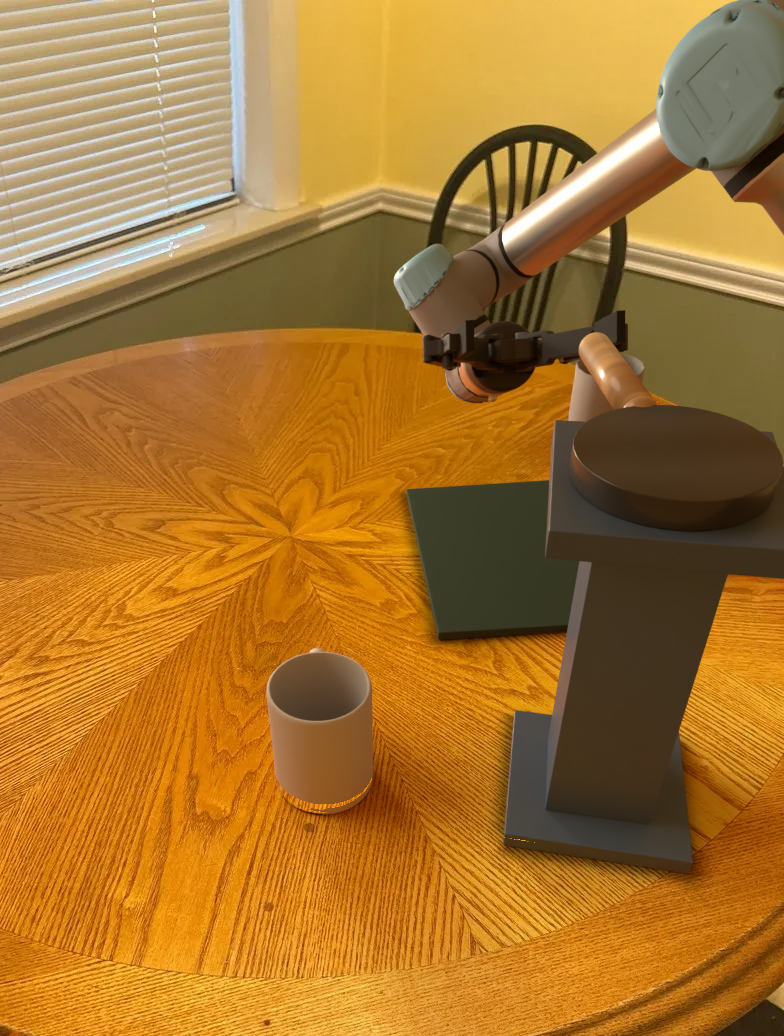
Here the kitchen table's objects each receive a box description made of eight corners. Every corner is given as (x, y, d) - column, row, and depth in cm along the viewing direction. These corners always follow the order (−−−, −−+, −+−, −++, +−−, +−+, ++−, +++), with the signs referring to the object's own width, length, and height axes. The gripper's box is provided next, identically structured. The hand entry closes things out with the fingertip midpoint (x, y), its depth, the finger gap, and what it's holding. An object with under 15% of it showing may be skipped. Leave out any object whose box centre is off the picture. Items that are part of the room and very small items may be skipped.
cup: (618, 456, 116) (631, 384, 110) (557, 442, 120) (567, 371, 113) (638, 429, 121) (652, 358, 115) (579, 416, 125) (590, 347, 118)
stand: (675, 741, 78) (773, 431, 59) (689, 874, 68) (812, 552, 49) (513, 721, 81) (554, 419, 62) (502, 845, 71) (548, 530, 52)
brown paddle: (810, 524, 51) (823, 488, 49) (598, 538, 51) (605, 501, 49) (665, 352, 69) (672, 322, 68) (511, 362, 69) (514, 332, 68)
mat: (406, 495, 112) (406, 488, 111) (549, 486, 111) (550, 479, 111) (438, 640, 90) (438, 632, 90) (615, 629, 90) (617, 622, 89)
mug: (378, 812, 74) (377, 720, 67) (276, 819, 74) (265, 727, 67) (365, 710, 83) (364, 620, 76) (274, 716, 83) (264, 626, 76)
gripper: (607, 387, 102) (683, 365, 81) (388, 401, 102) (408, 382, 81) (607, 319, 100) (685, 278, 80) (386, 333, 101) (405, 296, 80)
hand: (545, 330), depth 80 cm, fingers open, 13 cm apart
